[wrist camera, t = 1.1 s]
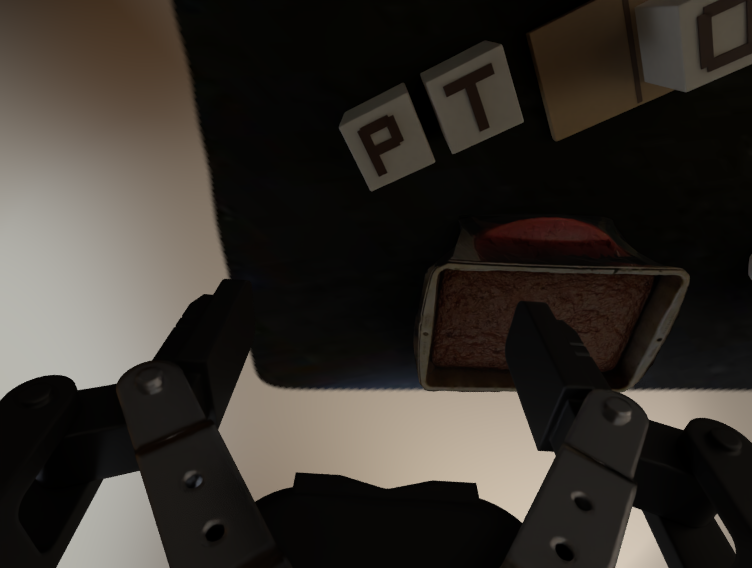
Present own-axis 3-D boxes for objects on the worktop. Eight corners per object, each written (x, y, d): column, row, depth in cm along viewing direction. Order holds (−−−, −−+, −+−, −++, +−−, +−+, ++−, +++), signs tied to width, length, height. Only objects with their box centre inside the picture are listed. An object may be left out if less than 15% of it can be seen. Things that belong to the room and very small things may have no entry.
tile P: (343, 112, 29) (338, 127, 25) (403, 81, 28) (407, 92, 24) (372, 170, 31) (370, 192, 27) (429, 144, 30) (435, 163, 26)
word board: (525, 33, 26) (529, 33, 26) (825, -119, 23) (840, -124, 22) (552, 139, 30) (556, 142, 29) (818, 22, 26) (831, 22, 25)
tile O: (633, 7, 25) (678, 5, 21) (716, -34, 24) (780, -43, 20) (644, 82, 27) (687, 93, 23) (720, 47, 26) (779, 53, 22)
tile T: (419, 73, 28) (425, 83, 24) (485, 39, 27) (502, 43, 23) (444, 137, 30) (453, 155, 26) (506, 108, 29) (525, 122, 25)
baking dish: (568, 342, 42) (638, 420, 33) (388, 344, 39) (412, 430, 30) (622, 198, 35) (727, 246, 26) (409, 186, 32) (449, 236, 23)
